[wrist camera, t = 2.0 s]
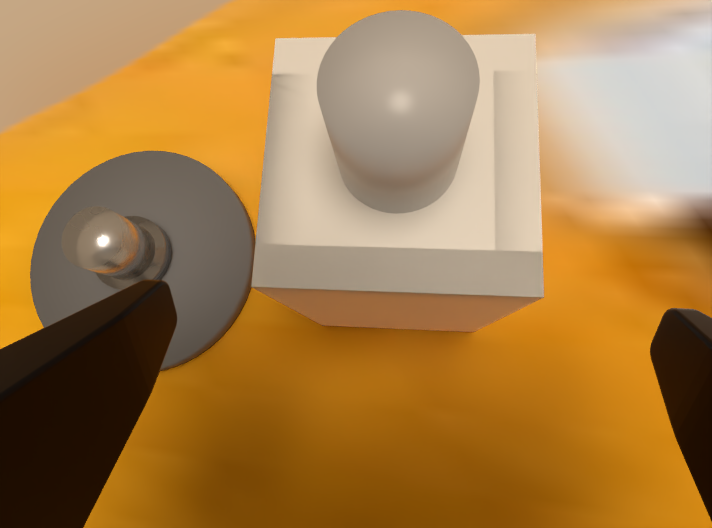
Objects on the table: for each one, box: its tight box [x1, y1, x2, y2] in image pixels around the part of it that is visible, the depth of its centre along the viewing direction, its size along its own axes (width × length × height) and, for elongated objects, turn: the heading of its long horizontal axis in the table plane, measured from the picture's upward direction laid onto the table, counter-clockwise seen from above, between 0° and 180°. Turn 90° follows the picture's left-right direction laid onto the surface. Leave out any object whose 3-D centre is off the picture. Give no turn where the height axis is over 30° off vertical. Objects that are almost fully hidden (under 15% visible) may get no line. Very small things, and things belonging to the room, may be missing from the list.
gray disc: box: [30, 151, 256, 371], centre depth 21 cm, size 10×10×1 cm
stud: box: [62, 206, 171, 290], centre depth 19 cm, size 3×3×3 cm
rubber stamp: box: [251, 10, 544, 332], centre depth 15 cm, size 6×6×13 cm
